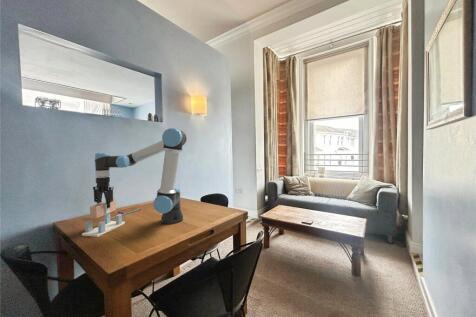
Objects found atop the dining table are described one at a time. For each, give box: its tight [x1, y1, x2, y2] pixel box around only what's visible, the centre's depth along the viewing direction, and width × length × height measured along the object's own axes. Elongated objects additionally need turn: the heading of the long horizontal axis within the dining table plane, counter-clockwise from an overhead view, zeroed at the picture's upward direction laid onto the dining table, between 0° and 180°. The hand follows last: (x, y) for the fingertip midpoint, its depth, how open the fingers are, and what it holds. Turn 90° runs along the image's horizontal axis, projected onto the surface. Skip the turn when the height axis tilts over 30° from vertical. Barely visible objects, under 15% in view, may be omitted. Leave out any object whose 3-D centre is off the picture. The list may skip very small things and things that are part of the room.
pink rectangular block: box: [89, 199, 117, 219], centre depth 130 cm, size 4×18×7 cm, turn 178°
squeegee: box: [110, 208, 141, 219], centre depth 163 cm, size 29×2×10 cm
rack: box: [81, 213, 125, 238], centre depth 130 cm, size 11×22×7 cm, turn 170°
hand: (104, 212), depth 130 cm, fingers closed on pink rectangular block, 4 cm apart
